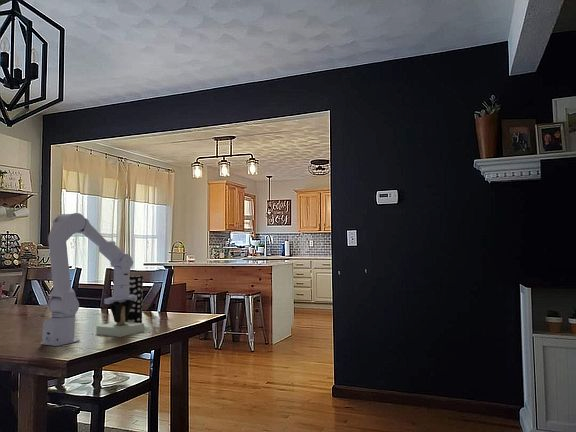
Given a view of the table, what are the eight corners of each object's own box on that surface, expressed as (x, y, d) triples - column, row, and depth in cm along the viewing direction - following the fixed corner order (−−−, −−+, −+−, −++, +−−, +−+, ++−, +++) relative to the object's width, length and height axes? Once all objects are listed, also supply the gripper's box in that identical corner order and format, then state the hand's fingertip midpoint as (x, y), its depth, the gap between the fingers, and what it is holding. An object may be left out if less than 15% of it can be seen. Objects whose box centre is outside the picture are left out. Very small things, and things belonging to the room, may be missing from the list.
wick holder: (120, 336, 168) (120, 328, 168) (96, 334, 173) (96, 326, 173) (143, 331, 179) (144, 323, 179) (120, 329, 184) (120, 321, 184)
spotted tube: (132, 321, 203) (133, 275, 204) (146, 323, 199) (147, 276, 200) (117, 324, 196) (118, 276, 197) (130, 325, 192) (131, 277, 193)
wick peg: (120, 328, 174) (121, 307, 174) (114, 328, 175) (115, 306, 176) (126, 327, 177) (127, 306, 177) (120, 326, 178) (121, 305, 178)
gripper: (114, 287, 169) (113, 324, 168) (143, 284, 182) (142, 319, 181) (100, 286, 172) (99, 323, 171) (129, 283, 185) (128, 318, 184)
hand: (120, 321), depth 176 cm, fingers closed on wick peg, 3 cm apart
